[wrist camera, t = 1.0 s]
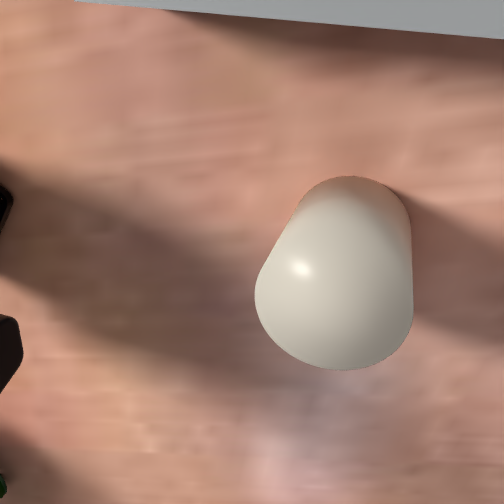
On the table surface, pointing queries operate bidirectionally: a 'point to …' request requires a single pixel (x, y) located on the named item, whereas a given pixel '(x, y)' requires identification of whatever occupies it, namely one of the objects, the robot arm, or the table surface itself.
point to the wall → (356, 13)
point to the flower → (2, 487)
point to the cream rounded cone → (340, 276)
